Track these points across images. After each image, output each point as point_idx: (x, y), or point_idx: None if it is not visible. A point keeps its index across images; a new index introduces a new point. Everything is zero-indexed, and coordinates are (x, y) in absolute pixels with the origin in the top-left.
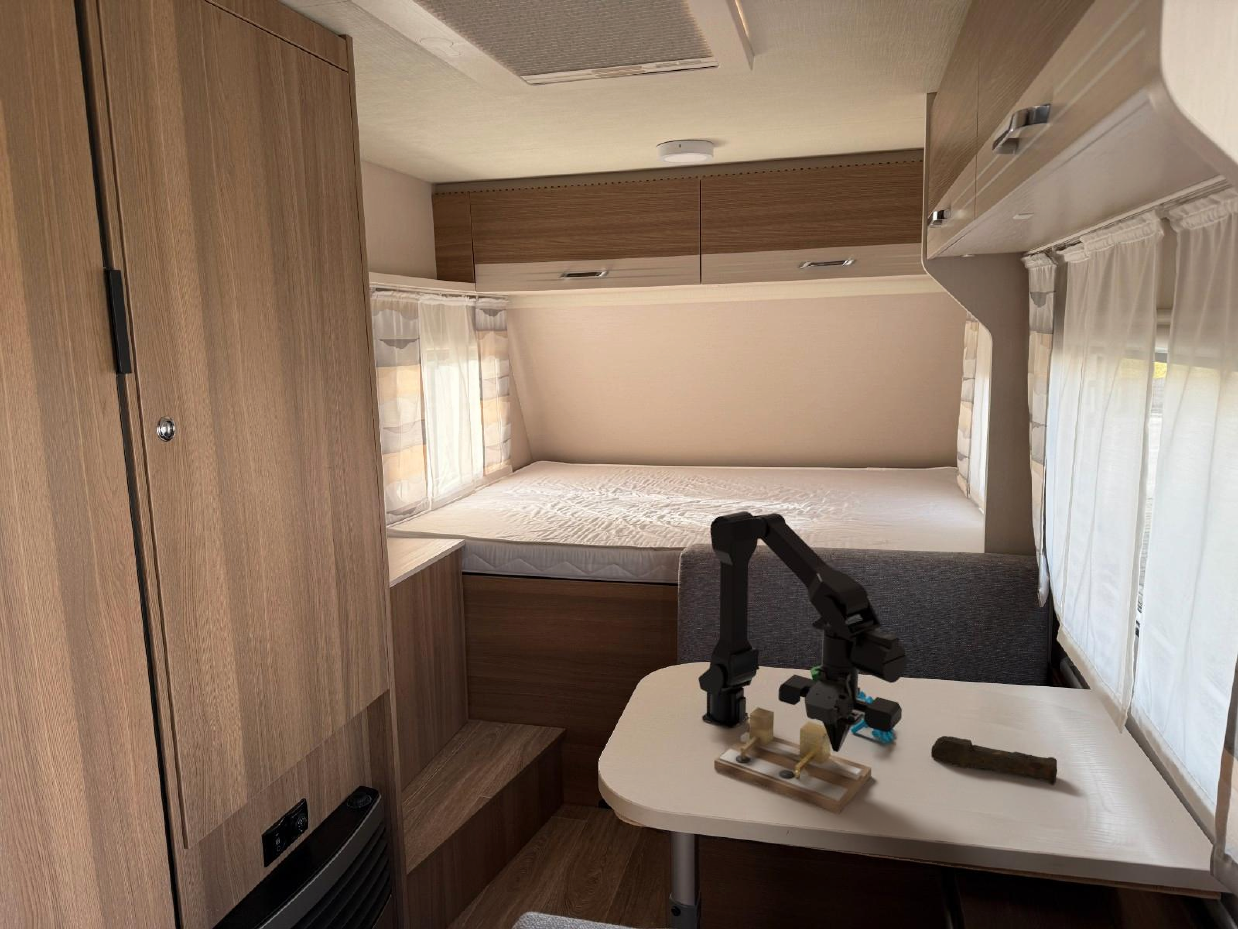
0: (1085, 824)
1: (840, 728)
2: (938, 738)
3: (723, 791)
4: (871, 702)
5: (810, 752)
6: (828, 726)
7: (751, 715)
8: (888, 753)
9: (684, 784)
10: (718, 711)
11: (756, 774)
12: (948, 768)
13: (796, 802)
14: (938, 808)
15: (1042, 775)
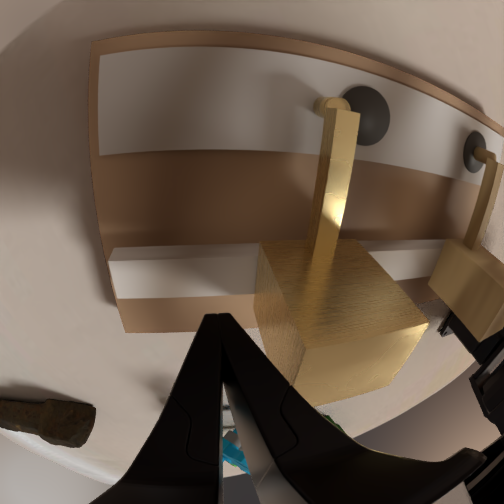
0: None
1: (182, 459)
2: (84, 442)
3: (454, 30)
4: (242, 469)
5: (328, 260)
6: (294, 432)
7: None
8: (160, 394)
9: (500, 47)
10: None
11: (437, 89)
12: (58, 392)
13: (272, 24)
14: None
15: None
